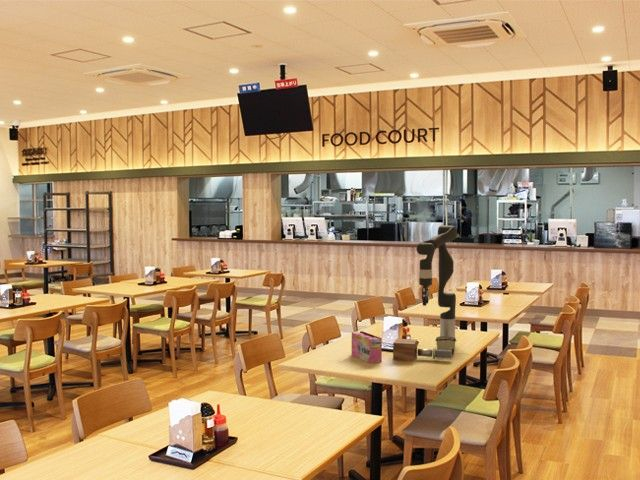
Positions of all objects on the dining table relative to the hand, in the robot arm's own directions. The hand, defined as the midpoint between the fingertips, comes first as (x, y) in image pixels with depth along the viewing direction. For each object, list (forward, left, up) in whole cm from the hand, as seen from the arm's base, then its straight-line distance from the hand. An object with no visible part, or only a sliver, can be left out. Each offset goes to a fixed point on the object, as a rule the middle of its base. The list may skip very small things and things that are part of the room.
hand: (425, 304), depth 387 cm
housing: (+11, -10, -30) cm, 34 cm away
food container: (-7, +11, -30) cm, 33 cm away
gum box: (+16, -32, -30) cm, 47 cm away
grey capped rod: (+11, +7, -29) cm, 32 cm away
